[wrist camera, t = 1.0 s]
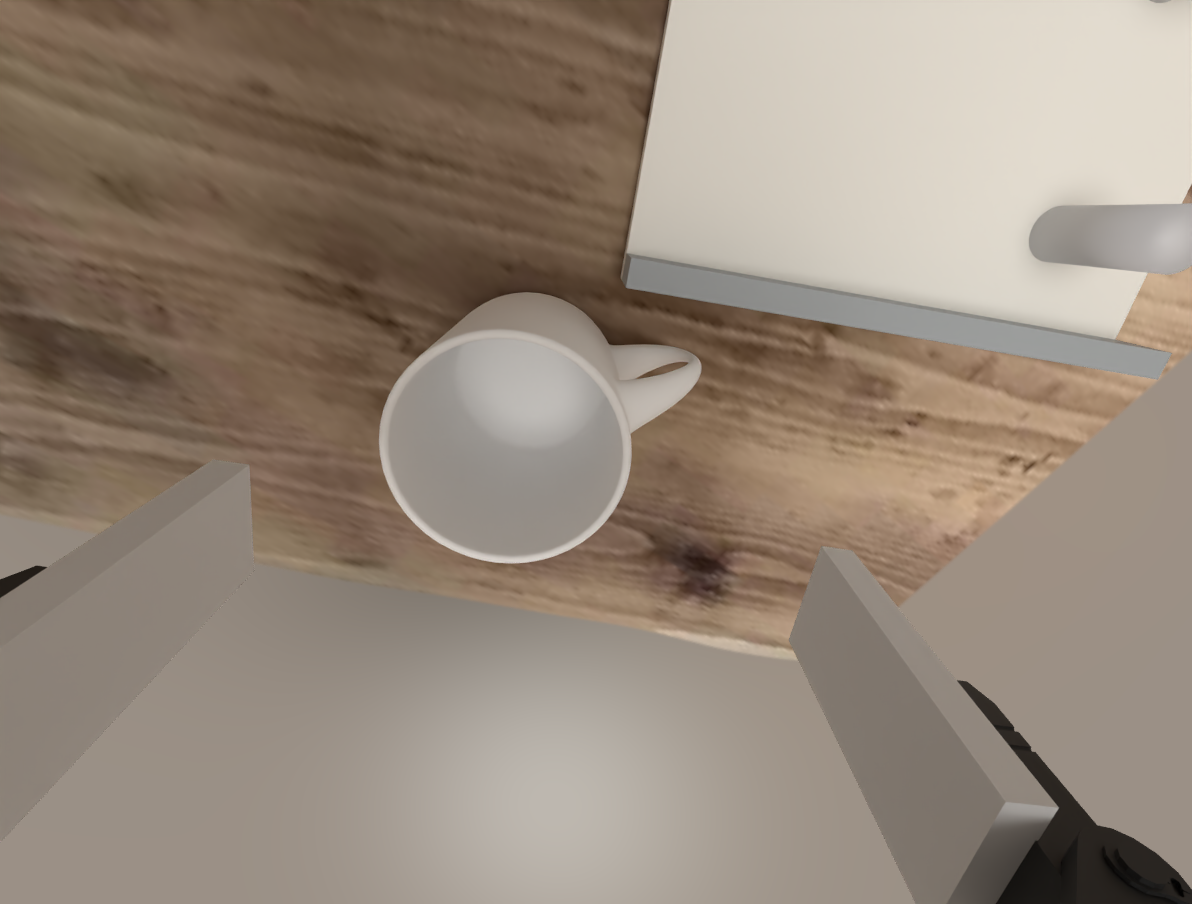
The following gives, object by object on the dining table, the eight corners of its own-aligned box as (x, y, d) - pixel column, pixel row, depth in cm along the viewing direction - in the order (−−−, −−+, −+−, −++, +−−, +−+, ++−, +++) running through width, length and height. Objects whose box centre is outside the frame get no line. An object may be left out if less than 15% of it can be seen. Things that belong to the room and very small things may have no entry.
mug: (696, 417, 31) (749, 512, 21) (478, 471, 32) (430, 587, 22) (662, 249, 28) (704, 269, 18) (421, 314, 29) (336, 368, 19)
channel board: (724, -313, 21) (789, -557, 14) (1330, -159, 23) (1636, -312, 16) (620, 277, 29) (631, 297, 22) (1084, 358, 30) (1225, 399, 24)
